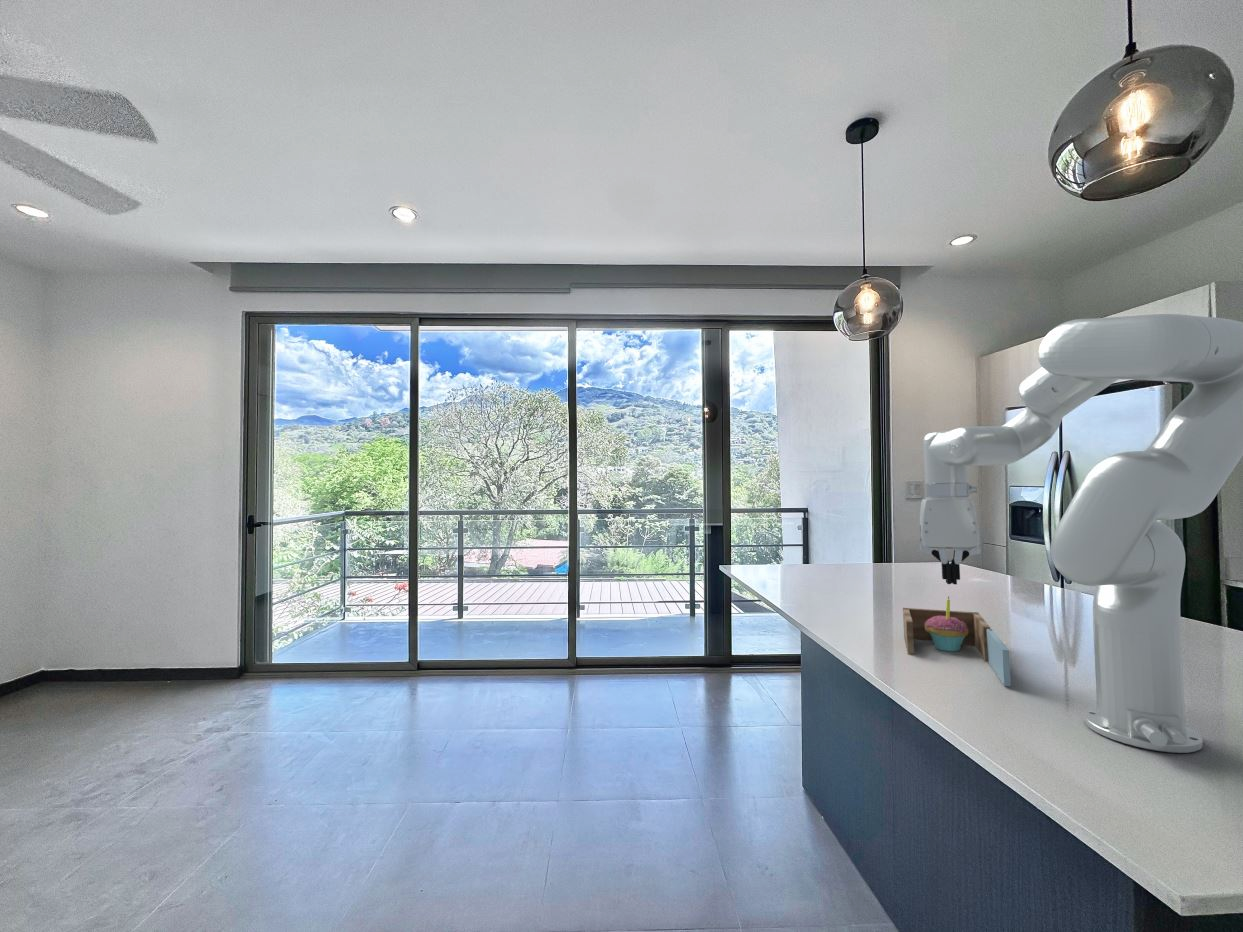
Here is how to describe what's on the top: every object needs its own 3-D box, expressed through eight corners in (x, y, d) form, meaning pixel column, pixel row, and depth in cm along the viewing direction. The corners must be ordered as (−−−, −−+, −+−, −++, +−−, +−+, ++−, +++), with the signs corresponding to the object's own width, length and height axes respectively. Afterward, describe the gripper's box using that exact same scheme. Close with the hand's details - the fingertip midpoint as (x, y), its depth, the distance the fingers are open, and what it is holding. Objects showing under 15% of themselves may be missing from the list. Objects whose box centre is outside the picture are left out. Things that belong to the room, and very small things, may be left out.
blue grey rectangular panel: (993, 660, 114) (991, 629, 114) (1010, 686, 100) (1009, 650, 100) (987, 660, 114) (986, 628, 114) (1004, 685, 100) (1002, 649, 100)
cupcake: (977, 654, 119) (974, 598, 120) (935, 654, 120) (933, 598, 120) (957, 642, 128) (955, 590, 128) (918, 642, 129) (916, 590, 129)
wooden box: (991, 661, 114) (990, 627, 114) (907, 654, 120) (906, 621, 121) (979, 643, 127) (978, 612, 127) (904, 637, 133) (902, 607, 133)
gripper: (986, 491, 113) (991, 581, 112) (904, 492, 119) (908, 578, 118) (994, 491, 106) (999, 588, 106) (906, 493, 112) (911, 584, 112)
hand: (951, 583), depth 112 cm, fingers closed
